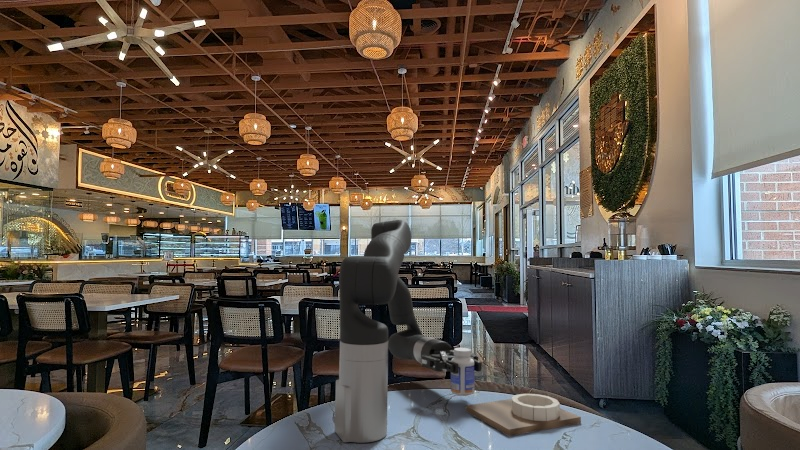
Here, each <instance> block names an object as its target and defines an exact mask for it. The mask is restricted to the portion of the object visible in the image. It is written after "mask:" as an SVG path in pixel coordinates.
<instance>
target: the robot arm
mask: <svg viewBox="0 0 800 450" xmlns="http://www.w3.org/2000/svg"><path fill="white" fill-rule="evenodd" d="M370 230H371V231H370V235H371V236H370V238H371V240H370V241H369V242H368V244H367V245H366V247H365V250H364V252H363V256H361V255H360V256H359V255H358V256H357V255H356V256H347V257H344V259H342V261H341V264H340V266H339V276H338V285H339V287H338V289H339V291H338V292H339V331H340V332H339V361H338V362H339V364H338V365H339V367H338V369H339V370H338V379H336V380H335V397H334V398H335V399H334V400H335V402H334V405H335V406H334V407H335V409H334V432H335V433H336V435H337V436H338V437H339V439H340V440H341V441H342V442H343V443H358V444H359V443H362V444H364V443H372V442H377V441H379V440H382V439H383V438H385V437H386V436H387V433H388V385H389V384H388V379H389V377H388V376H389V352H390V354H391V355H393V357H395V358H397V359H399V360H407V361H408V360H410V361H411V360H413V361H416V362H417V363H419V364H420V365H421V367H423V368H427V369H429V370H432V371H435V372H437V373H444V372H450V373H451V372H452V373H454V374H458V364H457V363H455V362H453V361H451V360H452V359H453V358H455V356H454V349H453V347H452V346H451V344H449V342H446V341H443V340H441V339H437V338H434V337H430V336H429V337H428V336H425V335H423V333H422V330H421V327H420V326H419V323H418V321H417V319H416V316H415V312H414V311H415V310H414V307H413V306H414V305H413V301H412V300H413V299H412V294H411V292H410V289H409V288H408V286H407V285H406V283H405V282H404V281H403V280H402V278H401V277H400V276H399V271H400V269H401V266H402V265H403V262H404V259H405V255H406V253H407V252H408V251H409V249H410V247H411V244H412V231H411V228H410V226H409V224H408V223H407V222H406V221H405V220H403V219H394V220H386V221H381V222H377V223H374V224H372V226H371V229H370ZM386 304H387V305H388V311H389V318H390V322H391V324H393V325H396V326H406V327H407V329H404V330H401V331H398V332H395V333H393V334H391V335H390V336H389V328H388V326H387V325H386V324H385V323H382V322H380V321H377V320H375V319H373V318H370V317H369V316H368V315H366V314H365V313H364V312H362V311H361V309H360V307H359V305H374V306H378V305H379V306H380V305H386ZM470 358H471V359H473V360H474V372H481V371H482V370H483V369H482V362H481V361H480V360H479V356H478V355H476V354H475V353H473V352H471V356H470Z"/></svg>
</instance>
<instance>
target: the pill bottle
mask: <svg viewBox="0 0 800 450" xmlns="http://www.w3.org/2000/svg"><path fill="white" fill-rule="evenodd" d="M453 350H454V356H455V358H453V359H452V360H451V361H453V362H455V363H457V364H458V374H454V373H452V372H450V393H452V394H454V395H456V396H472V395H474V393H475V370H474V360H473V359H471V358H470V356H471V353H472V349H471V348H467V347H455V348H454V349H453Z"/></svg>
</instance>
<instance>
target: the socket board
mask: <svg viewBox="0 0 800 450" xmlns="http://www.w3.org/2000/svg"><path fill="white" fill-rule="evenodd" d="M465 412H467V413H468V414H470V415H472V416H474V417H475V418H476V419H479V420H480V421H482V422H484V423H486V424H487V425H489V426H490V427H492V428H494V429H496V430H498V431H499V432H501V433H503V434H505V435H506V436H508V437H513V436H517V435H522V434H528V433H534V432H539V431H545V430H550V429H555V428H562V427H567V426H573V425H578V424H581V423H582V417H581V416H579V415H577V414H575V413H573V412H570V411H569V410H568V411H567V410H565V409H563V408H561V407H560V416H559V417H558V418H557V419H556V420H550V421H534V420H529V419H525V418H522V417H519V416H517V415H515V414H513V412H512V409H511V398H508V399H507V398H506V399H503V400H502V399H501V400H493V401H487V402H480V403H473V404H465Z"/></svg>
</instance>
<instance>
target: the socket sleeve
mask: <svg viewBox="0 0 800 450" xmlns="http://www.w3.org/2000/svg"><path fill="white" fill-rule="evenodd" d="M510 399H511V409H512V412H513V414H515V415H517V416H519V417H522V418H525V419H529V420H534V421H550V420H556V419H557V418H558V417H559V416H560V408H561V404H560V402H559V400H558V399H556V398H554V397H552V396H548V395H544V394H539V393H538V394H537V393H520V394H519V393H518V394H514V395H513V396H512V397H511V398H510Z"/></svg>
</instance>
